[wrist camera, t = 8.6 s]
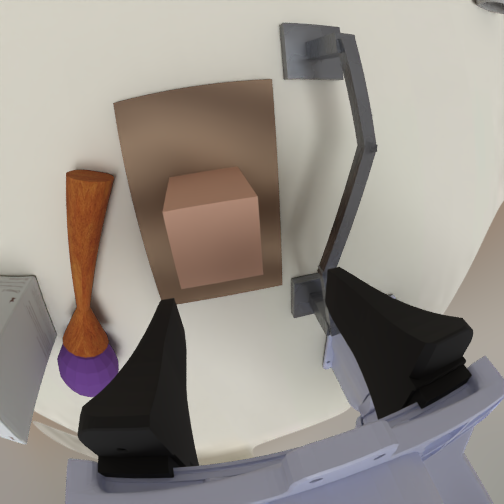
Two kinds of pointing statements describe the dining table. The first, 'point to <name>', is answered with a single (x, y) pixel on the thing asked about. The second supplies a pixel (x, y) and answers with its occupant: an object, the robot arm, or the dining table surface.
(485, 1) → the tube
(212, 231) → the block
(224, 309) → the dining table surface
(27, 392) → the supplement box
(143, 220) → the walnut board
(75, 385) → the kendama
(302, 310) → the grey door handle
